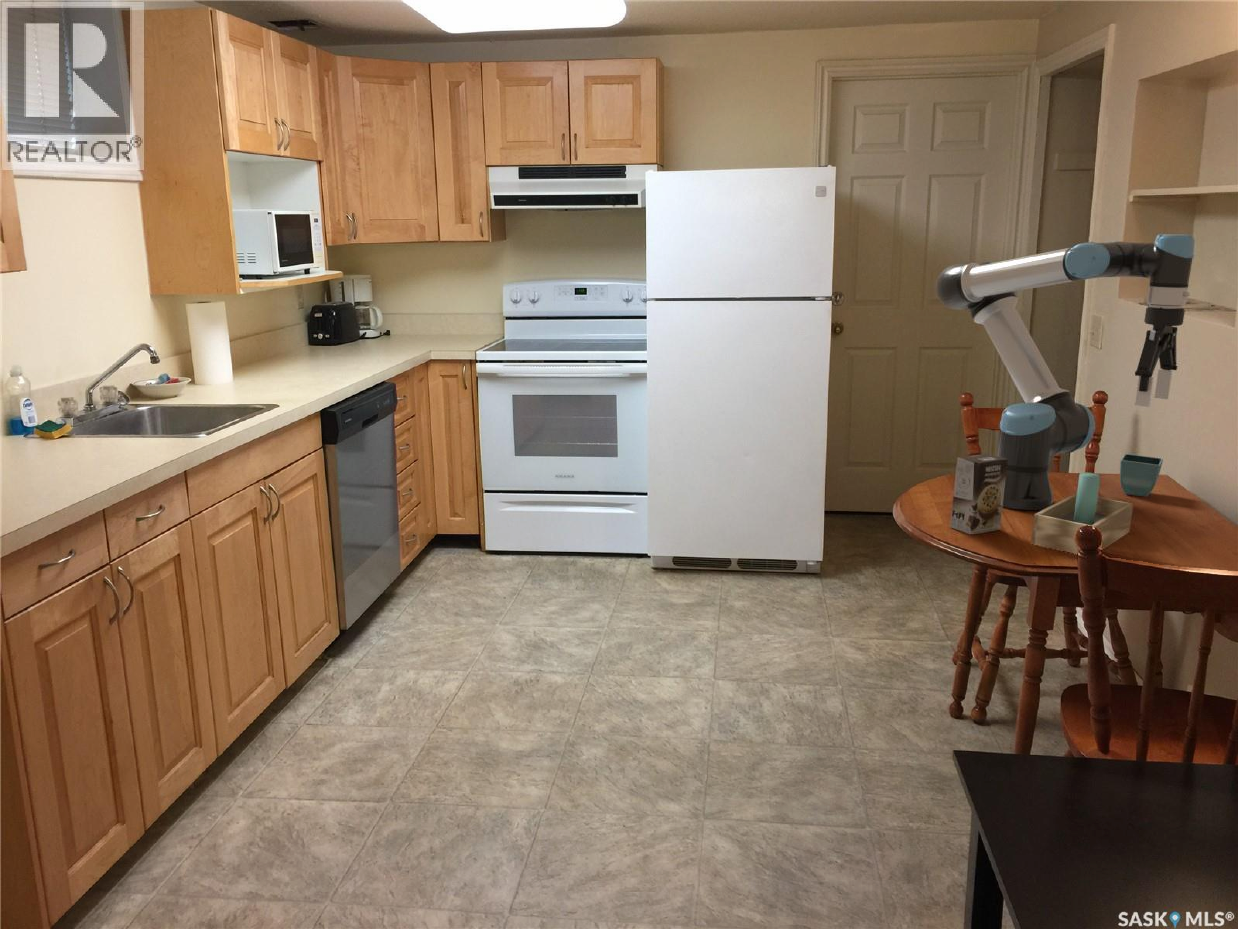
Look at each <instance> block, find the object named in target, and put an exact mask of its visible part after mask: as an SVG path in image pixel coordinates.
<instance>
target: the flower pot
mask: <svg viewBox="0 0 1238 929" xmlns="http://www.w3.org/2000/svg"><path fill="white" fill-rule="evenodd" d="M1119 462H1120V464H1119V465H1120V466H1119V481H1120V486H1121V489H1122V491H1123V493H1124V494H1125V495H1132V496H1137V497H1143V498H1147V497H1149V495H1151V493H1152V492H1153V490H1154V488H1155V486H1156V483H1157V481H1158V479H1159V476H1160V472H1161V469H1162V465H1163V462H1164V458H1162V457H1152V456H1147V455H1138V454H1130V453H1124V454H1123V455H1122V457H1121V459H1120V460H1119Z"/></svg>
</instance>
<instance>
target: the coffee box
mask: <svg viewBox="0 0 1238 929" xmlns="http://www.w3.org/2000/svg"><path fill="white" fill-rule="evenodd" d="M1007 463H1008V459H1005V458H1002V457H998V456H997V455H992V454H988V453H982V454H975V455H968V456H967V455H965V456H958V457H957V461H956V468H955V475H954V476H955V479H954V488H953V496H952V505H951V515H950V523H949V527H950V528H951V529H955V530H957V531H960V532H962V533H964V534H967V535H977V534H983V533H987V532H993V531H994V532H995V531H998V530H1001V523H1002V516H1003V515H1002V514H1003V508H1004V507H1003V497H1004V489H1005V480H1006V471H1007Z"/></svg>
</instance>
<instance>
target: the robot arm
mask: <svg viewBox="0 0 1238 929" xmlns="http://www.w3.org/2000/svg"><path fill="white" fill-rule="evenodd" d="M1194 249H1195V238H1194V237H1193V236H1192V235H1191V234H1175V233H1174V234H1173V233H1172V234H1171V233H1170V234H1168V233H1167V234H1166V233H1165V234H1164V233H1163V234H1157V236H1156V237H1155V240H1154V242H1129V241H1114V242H1112V241H1111V242H1094V241H1089V242H1083V243H1078V244H1076V245H1075V246H1072V247H1066V248H1061V249H1056V250H1052V251H1051V250H1050V251H1047V252H1042V253H1037V254H1032V255H1026V256H1022V257H1021V256H1020V257H1016V258H1010V259H1006V260H1003V261H1002V260H1000V261H997V262H991V261H985V262H979V263H976V262H970V263H956V264H952V265H949V266H947V267H946V268H945V269H944V270H942V271H941V272H940V274H939V275H938V277H937V279H936V282H935V293H936V297H937V299H938V300H939V301H940V302H941V304H943V305H944V306H945V307H947V308H949V309H951V310H956V311H957V310H958V311H960V310H962V311H963V310H964V311H965V310H967V311H968V313H969V314H970V317H971V318H972V320H973V322H974V323H976V324H979V325H983V327H984V329H985V331H986V333H987V334H988V336H989V338H990V340H991V342H992V344H993V346H994V347H995V349H996V351H997V353H998V355H999V357H1000V360H1001V361H1002V363H1003V364H1004V366H1005V368H1006V370H1007V373H1008V374H1009V375H1010V377H1011V379H1012V381H1013V383H1014V385H1015V387H1016V389H1017V390H1018V392H1019V394H1020V396H1021V397H1022V399H1023V401H1024V402H1020V403H1014V404H1011V405H1008V406H1007V407H1005V409H1003V411H1002V414H1001V418H1000V419H1001V420H1000V422H999V435H998V436H999V437H998V443H997V444H998V445H997V455H996V456H998V457H1002V458H1005V459H1008V463H1007V471H1006V480H1005V489H1004V497H1003V507H1002V508H1007V509H1012V510H1021V511H1042V510H1044V509H1046V508H1048V507H1050V506H1052V505H1053V502H1054V501H1053V500H1054V495H1053V490H1052V489H1053V488H1052V486H1051V481H1050V476H1049V467H1050V460H1051V456H1055V455H1062V454H1070V453H1073V452H1076V451H1079V450H1081V449H1083V448H1084V447H1086V446H1087V445H1088V444H1089V443H1090V442H1091V440H1092V439H1093V436H1094V432H1095V431H1096V421H1095V418H1094V415H1093V413H1092V411H1091V410H1090V408H1088V407H1087V406H1086V405H1083V404H1082V403H1079V402H1076V401H1075V399H1074V397H1073V396H1072V394H1071V392H1070V391H1069V390H1067V389H1064V388H1061V387H1059V384H1058V383H1057V381H1056V379H1055V377H1054V376H1053V374H1052V372H1051V370H1050V368H1049V367H1048V365H1047V363H1046V361H1045V359H1044V357H1043V355H1042V354H1041V352H1040V350H1039V349H1038V346H1037V344H1036V342H1034V339H1033V337H1032V336H1031V334H1030V332H1029V330H1028V328H1027V327H1026V325H1025V324H1024V321H1023V319H1022V318H1021V317H1020V314H1019V312H1018V310H1017V308H1016V306H1017V304H1018V300H1019V299H1018V297H1017V292H1019V291H1025V290H1029V289H1030V290H1031V289H1035V288H1042V287H1043V288H1044V287H1048V286H1053V285H1058V284H1065V283H1070V282H1078V281H1084V280H1090V279H1096V278H1097V279H1099V278H1119V277H1121V278H1123V277H1129V278H1145V279H1146V278H1147V279H1149V285H1148V292H1147V298H1146V304H1147V305H1149V306H1146V307H1145V313H1144V323H1145V324H1146V325H1152V329H1151V330H1150V329H1149V330H1147V331H1146V333H1145V334H1146V335H1145V340H1144V344H1143V347H1142V351H1141V355H1140V358H1139V360H1138V361H1139V362H1138V365H1137V369H1136V371H1134V376H1138V381H1137V382H1138V383H1137V389H1136V390H1137V391H1136V396H1135V402H1134V405H1135V406H1138V407H1147V408H1149V407H1150V405H1151V404H1150V403H1151V399H1152V398H1151V396H1152V391H1153V384H1154V376H1153V374H1154V371H1155V370H1156V369H1155V368H1156V366H1157V363H1158V360H1159V368H1160V369H1158V370H1157V376H1156V384H1155V385H1156V386H1155V390H1154V397H1153V398H1156V399H1161V400H1169V395H1170V388H1171V384H1172V383H1171V382H1172V375H1173V371H1177V369H1178V365H1177V364H1178V362H1177V336H1178V333H1177V332H1178V326H1182V325H1183V323H1184V318H1185V312H1186V310H1185V308H1183V307H1184V306H1186V304H1187V297H1190V295H1191V294H1190V293H1191V292H1189V291H1188V289H1189V281H1190V275H1191V270H1192V264H1193V258H1194V256H1195V255H1194Z"/></svg>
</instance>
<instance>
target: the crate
mask: <svg viewBox="0 0 1238 929" xmlns="http://www.w3.org/2000/svg"><path fill="white" fill-rule="evenodd" d="M1076 497H1077V492H1076V493H1073V494H1071V495H1069V496H1068V497H1066V498H1063V499H1062V500H1060V501H1058V502H1056V503H1053V504H1052V506H1050V507H1048V508H1046V509H1042V510H1039V512H1036V513H1034V514H1033V521H1032V530H1031V536H1030V537H1031V538H1030V545H1032V544H1033V545H1032V546H1036V545H1038V547H1041V546H1042V547H1041V548H1045V547H1046V548H1045V549H1049V548H1054V549H1059V550H1063V551H1070V552H1071V553H1074V554H1073V555H1075V554H1076V556H1078V555H1077V547H1076V544H1075V541H1074V535H1075V533H1076V531H1077V530H1078V528H1079V527H1082V526H1086V525H1087V524H1082V523H1077V522H1073V520H1074V512H1075V505H1076ZM1133 508H1134V503H1132V502H1127V501H1121V500H1115V499H1111V498H1105V497H1101V496H1098V497H1097V505H1096V512H1095V519H1094V524H1093V525H1088V526H1092V527H1096V528H1098V529H1099V530H1100V531H1101V533H1102V539H1103V541H1102V547H1101V548H1104V549H1106V548H1107V547H1109V546H1111V545H1112V544H1113V543H1115V542H1117V541H1118V540H1119V539H1121V538H1123V537H1124V536H1126V535H1127V534H1128V533H1130V529H1131V522H1132V516H1133V510H1134V509H1133ZM1105 547H1106V548H1105ZM1054 549H1053V550H1054ZM1071 553H1070V554H1071Z"/></svg>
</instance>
